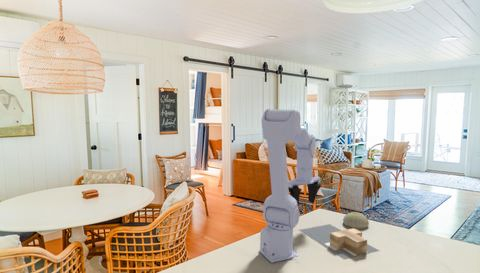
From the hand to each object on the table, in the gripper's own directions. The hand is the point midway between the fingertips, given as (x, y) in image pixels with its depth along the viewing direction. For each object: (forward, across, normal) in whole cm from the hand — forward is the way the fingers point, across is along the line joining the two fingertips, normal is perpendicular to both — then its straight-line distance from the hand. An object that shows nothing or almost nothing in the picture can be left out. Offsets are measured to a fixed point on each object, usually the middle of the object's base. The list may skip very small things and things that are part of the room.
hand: (303, 204), depth 110 cm
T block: (+9, +2, -20) cm, 22 cm away
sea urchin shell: (+10, +20, -8) cm, 23 cm away
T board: (+9, +3, -13) cm, 16 cm away
